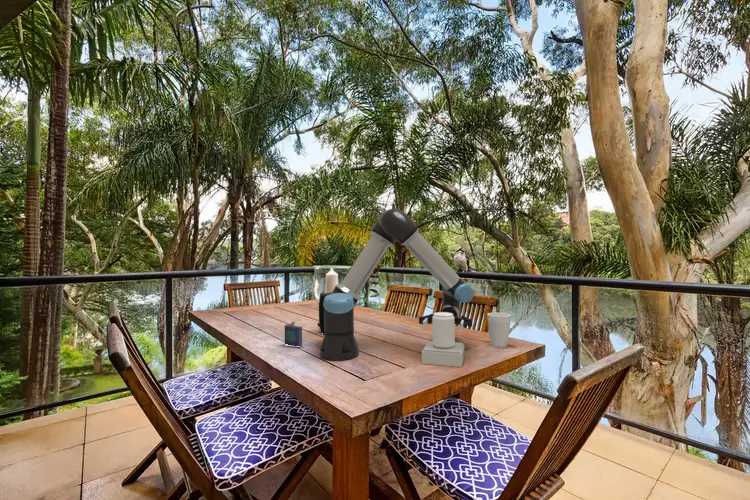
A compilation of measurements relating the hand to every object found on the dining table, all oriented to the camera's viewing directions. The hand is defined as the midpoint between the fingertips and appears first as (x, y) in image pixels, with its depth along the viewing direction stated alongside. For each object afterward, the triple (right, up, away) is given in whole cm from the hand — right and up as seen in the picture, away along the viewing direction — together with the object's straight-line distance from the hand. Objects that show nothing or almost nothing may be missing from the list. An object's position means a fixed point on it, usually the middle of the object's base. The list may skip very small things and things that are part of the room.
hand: (442, 326), depth 135 cm
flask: (-60, -14, +24) cm, 66 cm away
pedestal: (+1, -13, +3) cm, 14 cm away
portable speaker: (-47, -13, +46) cm, 67 cm away
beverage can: (+1, -8, +3) cm, 9 cm away
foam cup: (+28, -13, +21) cm, 37 cm away
